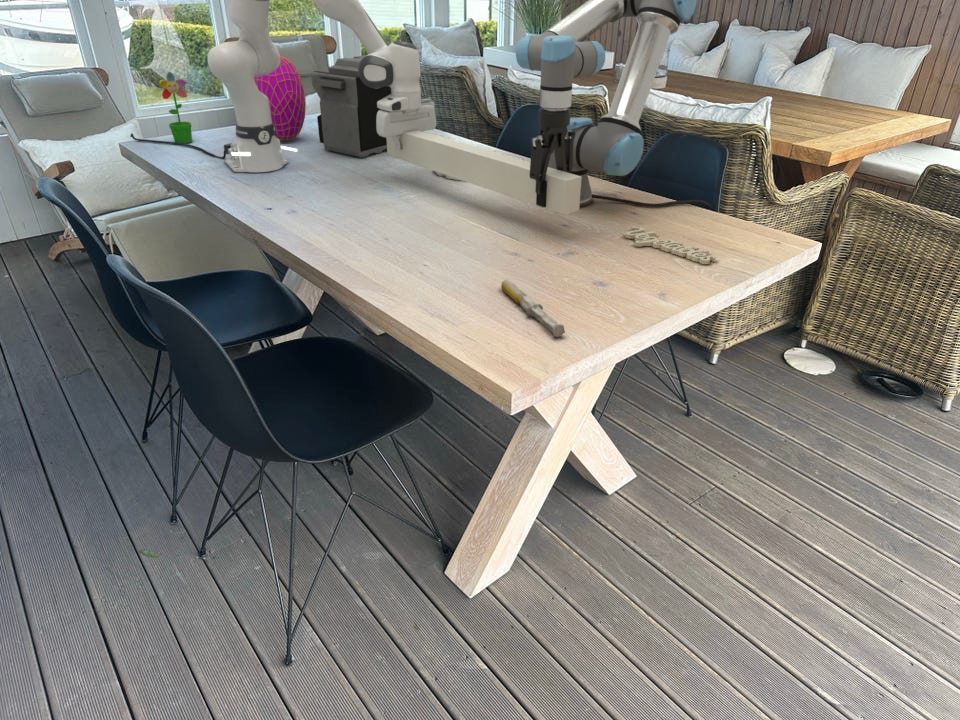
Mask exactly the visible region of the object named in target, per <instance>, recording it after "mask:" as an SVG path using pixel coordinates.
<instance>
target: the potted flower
mask: <svg viewBox="0 0 960 720" xmlns="http://www.w3.org/2000/svg"><path fill="white" fill-rule="evenodd" d="M165 78H166V79H161V80H159V84H158V85H159V87H160V88H162V89H163V90H162V93H161V97H162V99H164V100H167V99H169V98H171V96H173V101H174V106H175V108H171V109H170V110H168V113H169V114H171V115H176V116H177V120H178V121H174V122H170V123H168V126H169V129H170V130H171V134H172V138H173V142H176V143H183V144H189V143H192V142H193V134H192V122H191V121H181V117H180V113H179V109H181V108H182V106H183V104H182V103H178V102H177V98H176V97H177V96H179V97H180V98H187V97H188V93H187V91H186V90H185V89H183V87H185V86H186V85H187V84H188V82H187V81H186V80H185V79H183V78H177V79H176V77H175V74H174V73H173V72H172V71H167V73H166V76H165Z"/></svg>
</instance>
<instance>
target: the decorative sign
mask: <svg viewBox="0 0 960 720" xmlns="http://www.w3.org/2000/svg"><path fill="white" fill-rule="evenodd" d="M624 238H626V239H629V240H630V239H631V240H634V247H636V248H639V247H653V248H655V249H660V250H661V251H663V252H667V253H671V254H673V255H677V256H679V257H685V259H687V260H691V261H693V262H696V263H697V262H698V263H700V264H702V265H709V264H710V261H711V262H712V263H715V262H716V258H717V257H716V256H715V255H711V254H710V250H709V249H700V247H699V246H697V245H696V246H686V247H685V246H684V245H683V243H682V242H681V241H677V240H676V241H675V240H673V239H667V240H666V239H662V238H658V237H657V232H656V231H645V228H643V227H639V226H631V229H630V231H625V234H624ZM709 254H710V255H709Z"/></svg>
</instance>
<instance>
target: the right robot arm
mask: <svg viewBox="0 0 960 720" xmlns="http://www.w3.org/2000/svg"><path fill="white" fill-rule="evenodd" d="M696 6H697V0H587V1H585V2H584V3H582V5H580V6H579V7H577V8H576V9H574V10H573V11H572V12H570V13H568V14H567V15H566V16H565V17H563V18H562V19H561V20H559V21H558V22H556V23H555V24H553V25H552V26H551V27H549V28H548V29H547V30H545V31H544V32H543V33H541V34H540V35H538V36H532V35H531V36H524V37H522V38H521V39H520V40H519V41H518V43H517V45H516V48H515V59H516V62H517V64H518V66H519V67H520V68H522V69H525V70H530V71H532V72H533V71H537V72H540V85H539V104H538V105H539V107H540V108H539V109H538V120H537V121H538V123H537V124H538V125H539V127H540V130H539V133H538V135H537V136H536V137H531V138H529V143H530V148H531V149H530V161H529V162H530V178H531V179H534V180H536V189H535V192H536V193H537V196H536V205H538V206H537V207H539V206H541V207H540V208H542V207H546V194H547V181H545V177H546V173H547V168H548V167H550V168H553V169H557V170H560V171H564V172H567V173H571V174H574V175H578V176H581V177H582V178H581V191H580V204H579V208H581V207H584V206H588V205H589V204H591V203H592V199H598V200H604V201H611V202H617V203H624V204H629V205H633V206H639V207H649V208H662V207H663V208H664V207H669V206H674V205H691V204H700V205H703V206H705V207H706V208H707V209H710V210H711V209H713V207H712V205H711V204H710V203H708V202H707V201H705V200H702V199H689V200H688V199H687V200H674V201H667V202H660V203H652V202H650V203H649V202H642V201H641V202H640V201H635V200H631V199H625V198H618V197H612V196H607V195H599V194H593V193H592V188H591V184H590V179H589V171H593V172H597V173H601V174H606V175H608V176H618V177H624V176H627V175H629V174H630V173H631V172H632V171H634V170H635V169H636V167H637V166H638V164H639V163H640V160H641V159H642V157H643V156H642V155H643V153H644V146H645V140H644V138H643V136H642V135H641V133H642V128H641V125H640V123H639V122H640V119H641V117H642V113H643V111H644V108H645V106H646V103H647V101H648V98H649V94H650V92H651V89H652V86H653V84H654V81H655V78H656V75H657V72H658V69H659V66H660V64H661V61H662V58H663V56H664V53H665V50H666V47H667V44H668V42H669V40H670V36H671V35H673V34H675V33H677V32H678V30H679V28H680V25H681V22H686V21H689V20H690V19H691V18H692V17H693V15H694V13H695V11H696ZM631 17H632V18H633V17H634V18H635V20H636V22H637V24H638V28H637V31H636V33H635V36H634V39H633V42H632V44H631V48H630V50H629V53H628V56H627V58H626V62H625V64H624V67H623V70H622V73H621V75H620V79H619V82H618V83H617V84H618V85H617V87H616V90H615V93H614V96H613V98H612V101H611V104H610V107H609V109H608V112H607V113H606V114H604V115H602V116H600V118H599V122H598V124H597V126H596V125H593V124H594V122H593V119H592V118H590V117H571V109H570V108H571V107H572V98H573V80H574V79H575V78H576V79H577V78H580V77H589V76H592V75H594V74H597V73H599V72H600V71H601V70H602V69H603V67H604V65H605V63H606V51H605V49H604V46H603V45H602V44H601V43H600V42H598V41H595V40H587V39H588V38H590V37H591V36H593V34H595V33H596V32H598V31H599V30H600V29H601V28H603V27H605V26H606V25H607V24H608V23H615V22H617V21H619V20H620V19H621V18H631ZM540 175H541V176H540ZM536 205H535V206H536Z"/></svg>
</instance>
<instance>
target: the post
mask: <svg viewBox="0 0 960 720" xmlns="http://www.w3.org/2000/svg"><path fill="white" fill-rule="evenodd" d="M386 139H387V150H386V152H387V153H386V154H387V156H390V157H391V158H395V159H398V160H401V161H404V162H407V163H410V164H412V165H416V166H417V167H421V168H424V169H428V170H431V171H432V172H435V171H436V172H439V173H442V174H445V175H448V176H451V177H454V178H457V179H460V180H459V181H463V182H466V183H469V184H472V185H475V186H476V187H477V186H478V187H480V188H483V189H487V190H488V191H489V190H490V191H492V192H495V193H498V194H501V195H503V196H507V197H509V198H513V199H516V200H518V201H522V202H525V203H528V204H531V205H534V206H536V207H539V208H543V209H546V210H549V211H551V212H554V213H556V214H561V215H563V216H565V215H570V214H572V213H576V212H579V211H580V207H579V204H580V191H581V178H582V177H581V176H578V175H574V174H571V173H567V172H564V171H560V170H557V169H553V168H550V167H548V168H547V173H546V177H545V181H547V194H546V207H541V206H538V205H536V196H537V193H536V192H535V189H536V180H534V179H531V178H530V162H531V161H528V160H525V159H521V158H518V157H514V156H511V155H507V154H503V153H501V152H497V151H493V150H490V149H487V148H486V149H485V148H482V147H479V146H475V145H472V144H469V143H465V142H461V141H458V140H454V139H450V138H447V137H443V136H441V135H437V134H433V133H430V132H426V131H419V130H416V131H410V132H405V133H403V135H399V139H398V140H399V142H400V143H401V144H402V147H403V149H402V150H396V148H395V143H394V141H393V139H392V136H391V137H386ZM540 176H541V175H540Z"/></svg>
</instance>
